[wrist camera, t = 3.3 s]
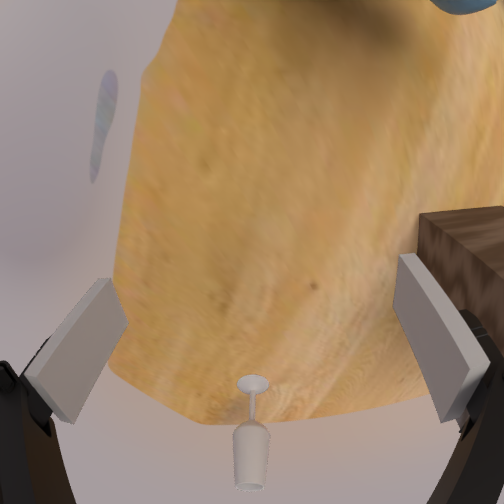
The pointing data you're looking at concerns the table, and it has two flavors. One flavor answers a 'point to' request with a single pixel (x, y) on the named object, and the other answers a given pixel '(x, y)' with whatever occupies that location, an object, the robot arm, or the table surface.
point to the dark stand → (468, 261)
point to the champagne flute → (251, 441)
